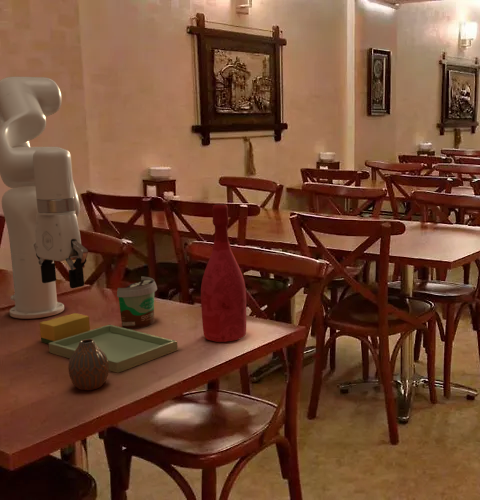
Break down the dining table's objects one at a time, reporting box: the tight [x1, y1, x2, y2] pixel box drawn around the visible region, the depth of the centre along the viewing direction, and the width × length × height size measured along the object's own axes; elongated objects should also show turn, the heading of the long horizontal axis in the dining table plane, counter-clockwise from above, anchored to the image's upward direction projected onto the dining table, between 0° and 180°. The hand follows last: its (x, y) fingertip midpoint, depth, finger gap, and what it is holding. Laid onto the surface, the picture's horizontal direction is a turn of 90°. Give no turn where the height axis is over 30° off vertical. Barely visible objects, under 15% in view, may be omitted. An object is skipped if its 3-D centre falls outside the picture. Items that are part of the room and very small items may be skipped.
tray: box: [48, 324, 179, 374], centre depth 148 cm, size 22×16×2 cm
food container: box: [116, 276, 158, 330], centre depth 166 cm, size 12×6×10 cm, turn 168°
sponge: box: [39, 312, 91, 345], centre depth 156 cm, size 5×9×4 cm, turn 147°
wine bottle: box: [200, 203, 247, 343], centre depth 155 cm, size 10×10×30 cm
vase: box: [68, 339, 110, 391], centre depth 128 cm, size 7×7×9 cm
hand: (63, 284), depth 154 cm, fingers open, 9 cm apart
